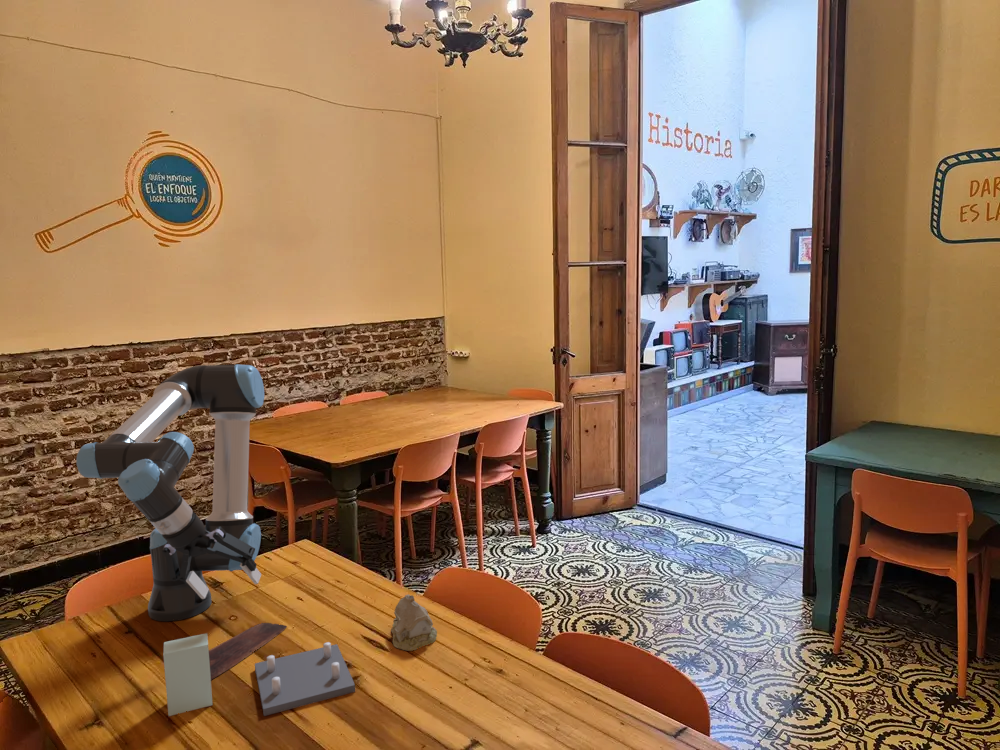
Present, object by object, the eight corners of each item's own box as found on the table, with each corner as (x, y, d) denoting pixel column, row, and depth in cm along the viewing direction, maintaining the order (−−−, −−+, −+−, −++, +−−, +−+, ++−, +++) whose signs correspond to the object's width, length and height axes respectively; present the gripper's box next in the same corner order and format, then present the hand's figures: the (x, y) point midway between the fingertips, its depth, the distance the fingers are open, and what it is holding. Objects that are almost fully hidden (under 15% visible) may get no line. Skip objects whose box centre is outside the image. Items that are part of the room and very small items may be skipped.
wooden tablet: (262, 616, 170) (292, 619, 165) (263, 624, 170) (293, 628, 166) (171, 670, 146) (203, 676, 142) (173, 680, 146) (205, 686, 142)
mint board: (169, 702, 136) (164, 642, 134) (211, 691, 139) (207, 633, 138) (168, 716, 132) (163, 654, 130) (212, 705, 135) (208, 644, 133)
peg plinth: (255, 669, 147) (253, 650, 147) (337, 650, 155) (336, 631, 154) (264, 716, 131) (262, 694, 131) (355, 691, 139) (354, 671, 138)
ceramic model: (444, 643, 158) (443, 602, 156) (399, 655, 153) (397, 614, 151) (423, 617, 170) (422, 580, 169) (381, 628, 165) (379, 589, 164)
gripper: (118, 551, 139) (177, 613, 150) (223, 520, 136) (276, 586, 146) (134, 525, 146) (190, 587, 157) (235, 494, 142) (284, 560, 153)
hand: (231, 586), depth 151 cm, fingers open, 13 cm apart
